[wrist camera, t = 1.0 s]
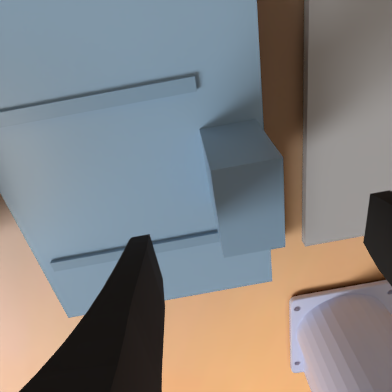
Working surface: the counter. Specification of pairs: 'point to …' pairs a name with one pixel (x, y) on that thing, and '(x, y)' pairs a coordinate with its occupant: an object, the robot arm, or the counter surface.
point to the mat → (345, 115)
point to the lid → (138, 142)
